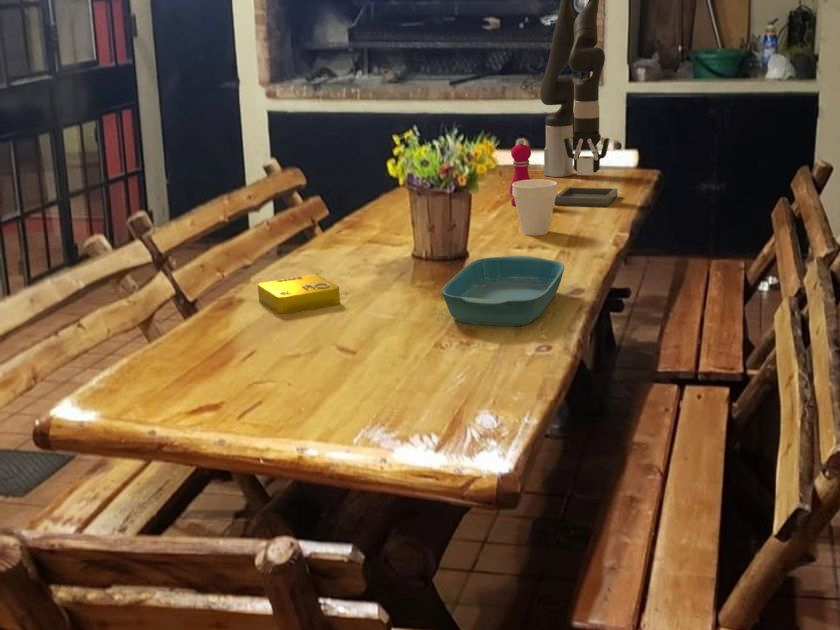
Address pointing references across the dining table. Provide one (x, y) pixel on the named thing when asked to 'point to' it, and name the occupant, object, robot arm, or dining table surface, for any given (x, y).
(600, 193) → the tray
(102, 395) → the dining table surface
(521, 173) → the pepper mill
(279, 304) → the element tile
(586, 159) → the grey dotted cube
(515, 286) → the casserole dish
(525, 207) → the cup
